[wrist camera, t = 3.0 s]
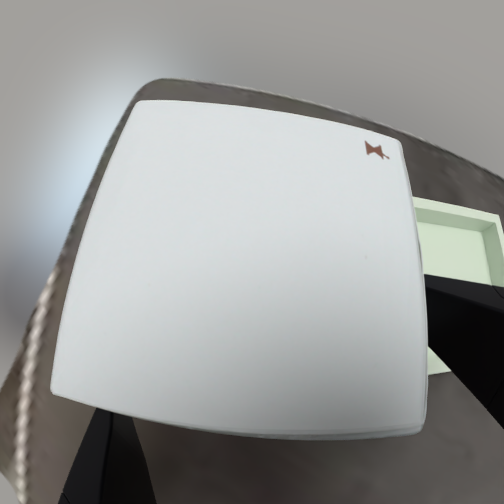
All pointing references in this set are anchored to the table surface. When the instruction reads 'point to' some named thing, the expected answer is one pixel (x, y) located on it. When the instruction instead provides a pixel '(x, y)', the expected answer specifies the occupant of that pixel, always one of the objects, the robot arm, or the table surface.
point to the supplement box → (250, 279)
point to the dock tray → (459, 248)
